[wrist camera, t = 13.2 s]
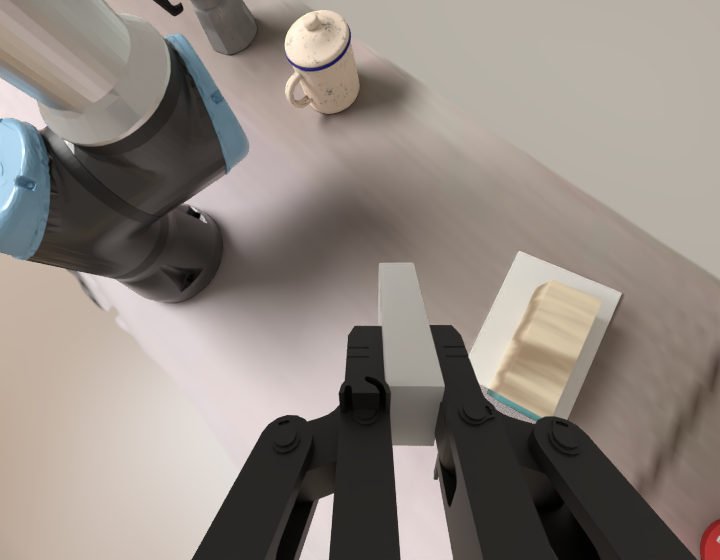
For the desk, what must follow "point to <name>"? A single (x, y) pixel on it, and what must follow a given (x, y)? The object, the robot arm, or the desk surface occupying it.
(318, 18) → the teacup with lid
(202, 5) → the coffeepot
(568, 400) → the mat
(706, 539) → the canned food
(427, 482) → the desk surface
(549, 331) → the block
